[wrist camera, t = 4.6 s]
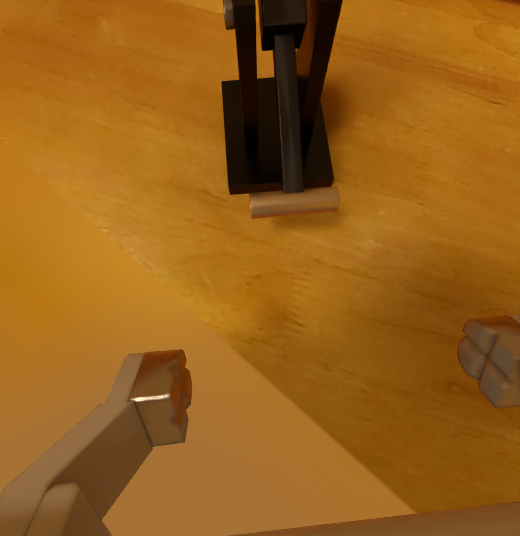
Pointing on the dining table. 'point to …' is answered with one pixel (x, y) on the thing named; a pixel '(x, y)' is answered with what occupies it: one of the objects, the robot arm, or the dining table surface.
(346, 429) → the dining table surface
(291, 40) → the lever
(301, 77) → the bracket
